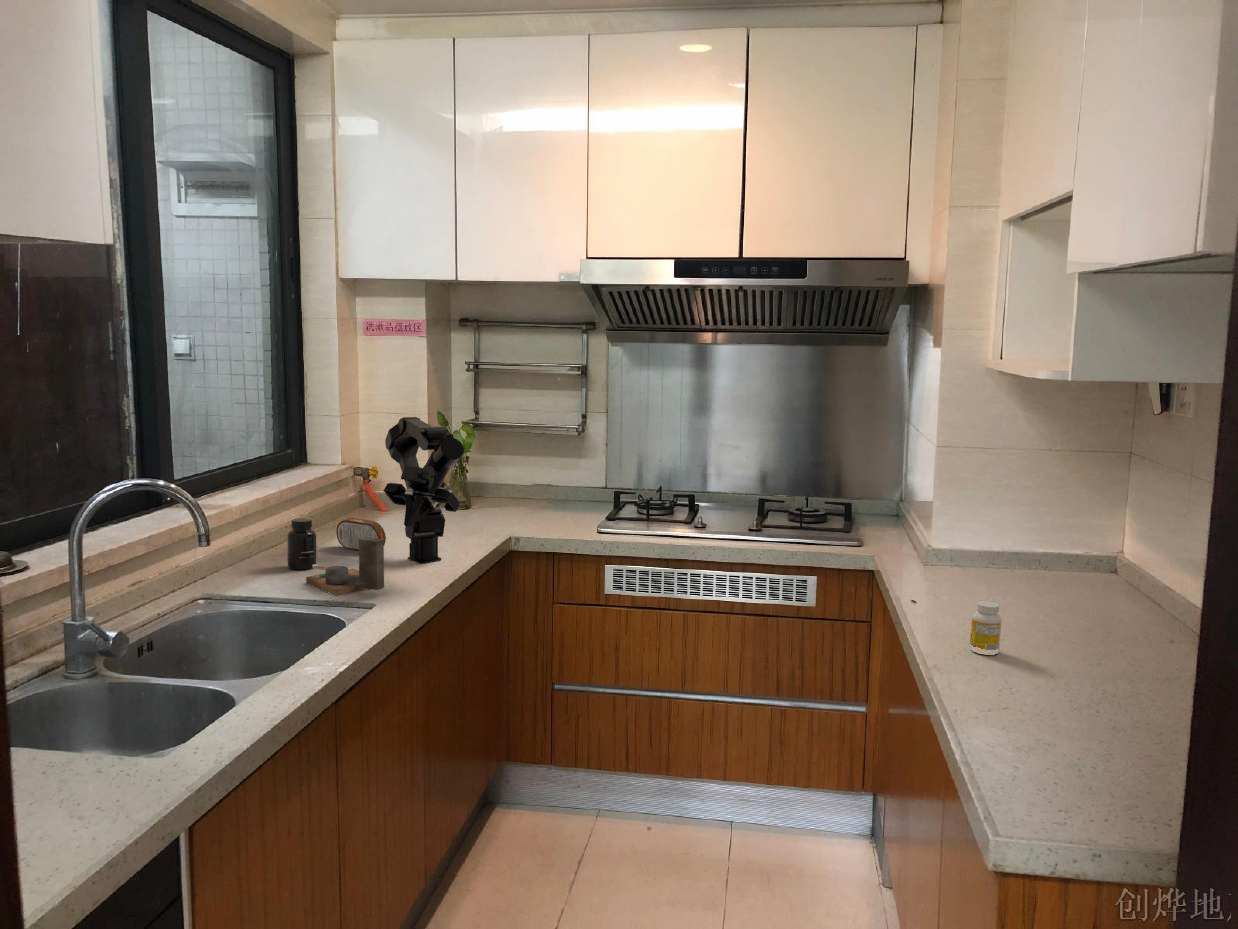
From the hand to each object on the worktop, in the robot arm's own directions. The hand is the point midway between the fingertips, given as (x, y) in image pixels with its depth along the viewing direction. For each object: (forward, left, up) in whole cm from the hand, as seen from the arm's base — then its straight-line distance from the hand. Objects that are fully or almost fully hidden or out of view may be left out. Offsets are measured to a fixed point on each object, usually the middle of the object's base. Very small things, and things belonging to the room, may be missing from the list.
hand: (406, 526), depth 219 cm
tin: (-8, -35, -14) cm, 39 cm away
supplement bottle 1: (+12, -28, -14) cm, 34 cm away
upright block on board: (+14, -3, -12) cm, 19 cm away
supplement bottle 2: (-58, +114, -14) cm, 128 cm away
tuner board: (+12, -7, -14) cm, 20 cm away
